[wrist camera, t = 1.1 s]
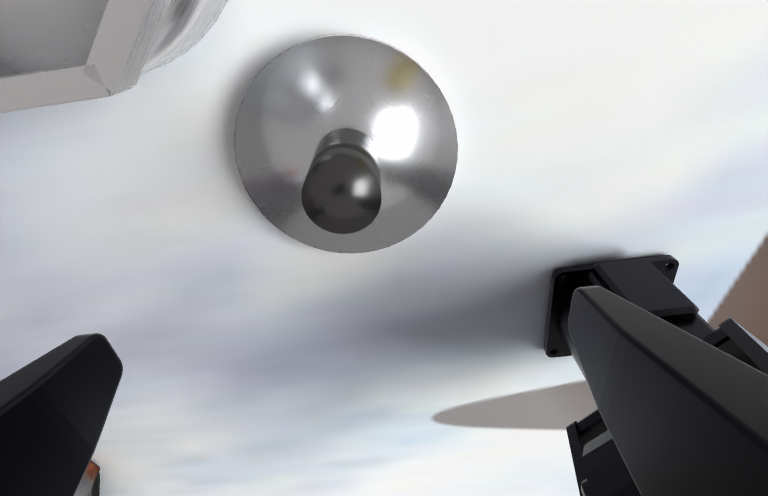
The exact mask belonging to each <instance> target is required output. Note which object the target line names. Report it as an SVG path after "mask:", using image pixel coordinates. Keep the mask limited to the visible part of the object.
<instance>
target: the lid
mask: <svg viewBox="0 0 768 496" xmlns="http://www.w3.org/2000/svg"><path fill="white" fill-rule="evenodd" d="M234 149H235V156H236V163H237V166H238V170H239V174H240V177H241V179H242V181H243V184H244V186H245V188H246V190H247V192H248V194H249V195H250V197H251V199H252V201H253V202H254V203H255V205H256V206H257V207H258V209H259V210H260V211H261V212H262V213H263V215H264V216H265V217H266V218H267V219H268V220H269V221H270V222H271V223H273V224H274V225H275V226H276V227H277V228H279V229H280V230H281V231H283V232H284V233H286V234H287V235H289V236H290V237H292V238H294V239H296V240H298V241H300V242H302V243H304V244H307V245H309V246H312V247H314V248H318V249H322V250H326V251H331V252H338V253H362V252H369V251H375V250H379V249H382V248H386V247H389V246H391V245H394V244H396V243H398V242H400V241H402V240H404V239H406V238H407V237H409V236H411V235H412V234H414V233H415V232H416V231H418V230H419V229H420V228H422V227H423V226H424V225H425V224H426V223H427V222H428V221H429V220H430V219H431V218H432V216H433V215H434V214H435V213H436V212H437V210H438V209H439V208H440V206H441V204H442V203H443V201H444V199H445V198H446V196H447V194H448V191H449V189H450V187H451V184H452V181H453V178H454V174H455V170H456V164H457V152H458V143H457V133H456V128H455V124H454V120H453V116H452V113H451V111H450V108H449V106H448V103H447V101H446V99H445V98H444V96H443V94H442V92H441V90H440V89H439V87H438V86H437V85H436V83H435V82H434V81H433V79H432V78H431V77H430V75H429V74H428V73H427V72H426V71H425V70H424V69H423V68H422V67H421V66H420V65H419V64H418V63H417V62H416V61H415V60H414V59H412V58H411V57H410V56H408V55H407V54H406V53H404V52H403V51H401V50H399V49H397V48H395V47H394V46H392V45H390V44H388V43H385V42H382V41H380V40H377V39H374V38H370V37H365V36H361V35H351V34H335V35H325V36H321V37H316V38H312V39H309V40H307V41H304V42H302V43H299V44H297V45H295V46H293V47H291V48H290V49H288V50H286V51H285V52H283V53H281V54H280V55H278V56H277V57H276V58H274V59H273V60H272V61H271V62H269V63H268V64H267V65H266V66H265V67H264V68H263V69H262V70H261V71H260V73H259V74H258V75H257V76H256V77H255V79H254V80H253V82H252V83H251V85H250V86H249V88H248V89H247V91H246V93H245V95H244V97H243V100H242V102H241V104H240V107H239V111H238V114H237V118H236V124H235V131H234Z"/></svg>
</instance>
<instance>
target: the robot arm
mask: <svg viewBox="0 0 768 496" xmlns="http://www.w3.org/2000/svg"><path fill="white" fill-rule="evenodd" d="M666 264H668V265H666ZM665 265H666V266H665ZM678 266H679V262H678V261H677V260H676V259H675V258H674V257H673V256H671V255H662V256H654V257H646V258H637V259H628V260H620V261H612V262H604V263H596V264H588V265H580V266H572V267H563V268H559V269H557V270H555V271H554V272H553V274H552V277H551V286H550V295H549V304H548V313H547V322H546V331H545V340H544V351H545V353H546V355H547V356H548V357H561V356H570V355H573V357H574V359H575V361H576V363H577V364H578V366H579V368H580V370H581V371H582V373H583V375H584V377H585V379H586V380H587V382H588V384H589V387H590V389H591V392H592V395H593V397H594V400H595V402H596V405H597V407H598V409H597V410H595V411H594V412H592V413H591V414H589V415H588V416H586V417H585V418H583V419H582V420H580V421H579V422H576V421H575V422H573V423H572V424H570V425H569V426H567V427H566V429H567V434H568V439H569V444H570V449H571V453H572V458H573V463H574V468H575V473H576V478H577V482H578V487H579V492H580V496H768V347H767V346H766V345H765V344H764V343H762V342H761V341H760V340H758V339H757V338H756V337H755V336H753V335H752V334H751V333H749V332H748V331H747V330H746V329H744V328H743V327H742V326H741V325H739V324H738V323H737V322H735V321H734V320H733V319H732V318H729V319H727V320H726V321H724V322H723V323H721V324H720V325H719V327H720V328H718V329H717V330H714V329H713V328H712V327H711V326H710V325H709V324H708V323H707V322H706V321H705V320H704V319H703V318H702V317H701V316H700V315H699V314H698V311H699V309H698V307H697V306H696V305H695V304H694V303H693V302H692V301H691V300H690V299H688V298H687V297H686V296H685V295H684V294H683V293H682V292H681V291H680V290H679V289H678V288H677V287H676V286H675V285H674V284H673V282H674V279H675V276H676V273H677V269H678ZM562 276H565V277H564V278H562V279H560V278H561V277H562ZM122 372H123V366H122V362H121V360H120V359H119V357H118V356H117V354H116V352H115V351H114V349H113V348H112V346H111V345H110V343H109V342H108V340H107V339H106V337H105V336H103V335H102V334H98V333H94V334H84V335H78V336H75V337H73V338H72V339H70V340H68V341H67V342H65V343H63V344H62V345H60V346H58V347H56V348H55V349H53V350H51V351H50V352H48V353H46V354H45V355H43V356H41V357H40V358H38V359H36V360H35V361H33V362H31V363H30V364H28V365H26V366H25V367H23V368H21V369H20V370H18V371H16V372H15V373H13V374H11V375H10V376H8V377H6V378H5V379H3V380H1V381H0V496H74V495H75V493H76V490H77V488H78V486H79V484H80V482H81V480H82V478H83V475H84V473H85V471H86V469H87V467H88V465H89V462H90V460H91V458H92V456H93V453H94V451H95V448H96V446H97V443H98V441H99V438H100V435H101V432H102V430H103V427H104V424H105V421H106V418H107V416H108V413H109V410H110V407H111V404H112V402H113V399H114V396H115V393H116V390H117V387H118V385H119V382H120V379H121V376H122Z"/></svg>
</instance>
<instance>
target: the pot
mask: <svg viewBox="0 0 768 496" xmlns="http://www.w3.org/2000/svg"><path fill="white" fill-rule="evenodd" d="M227 1H228V0H0V113H1V112H8V111H15V110H21V109H28V108H35V107H41V106H48V105H55V104H62V103H68V102H75V101H82V100H88V99H95V98H102V97H108V96H112V95H114V94H117V93H120V92H122V91H125V90H128V89H130V88H132V87H131V86H134V85H136V84H137V81H138V79H139V77H140V74H141V73H142V72H145V71H148V70H151V69H154V68H156V67H158V66H161V65H163V64H166V63H168V62H171V61H172V60H174V59H175V58H177V57H179V56H180V55H182V54H183V53H185V52H187V51H188V50H189V49H190V48H191V47H193V46H194V45H195V44H196V43H197V42H198V41H199V40H200V39H202V38H203V37H204V35H205V34H206V33H207V32H208V30H209V29H210V28H211V27H212V25H213V24H214V23H215V22H216V20H217V19H218V17H219V15H220V13H221V12H222V10H223V8H224V6H225V5H226V3H227Z"/></svg>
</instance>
